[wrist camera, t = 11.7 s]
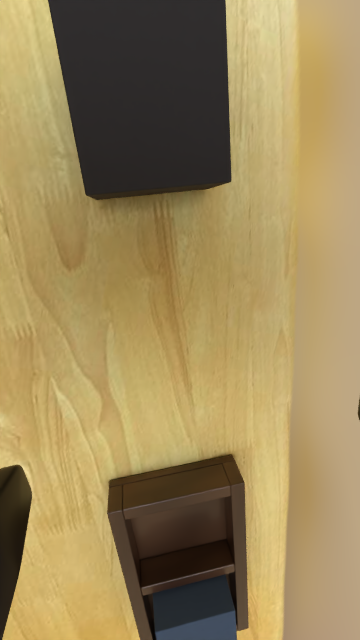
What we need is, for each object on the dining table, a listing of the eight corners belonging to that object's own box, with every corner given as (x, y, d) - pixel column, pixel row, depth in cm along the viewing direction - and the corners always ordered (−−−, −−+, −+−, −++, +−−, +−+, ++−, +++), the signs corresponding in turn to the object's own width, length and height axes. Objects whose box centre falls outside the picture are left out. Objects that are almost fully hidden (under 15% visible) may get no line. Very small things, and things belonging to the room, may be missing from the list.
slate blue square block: (219, 553, 26) (235, 610, 22) (223, 595, 28) (237, 654, 24) (150, 570, 25) (154, 632, 21) (159, 612, 27) (164, 675, 23)
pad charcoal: (199, 51, 14) (225, -8, 10) (207, 188, 16) (232, 181, 12) (69, 56, 13) (47, -5, 10) (95, 200, 15) (85, 195, 12)
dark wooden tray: (232, 454, 23) (244, 482, 20) (238, 594, 29) (248, 628, 27) (109, 480, 22) (106, 513, 19) (143, 619, 28) (144, 658, 26)
